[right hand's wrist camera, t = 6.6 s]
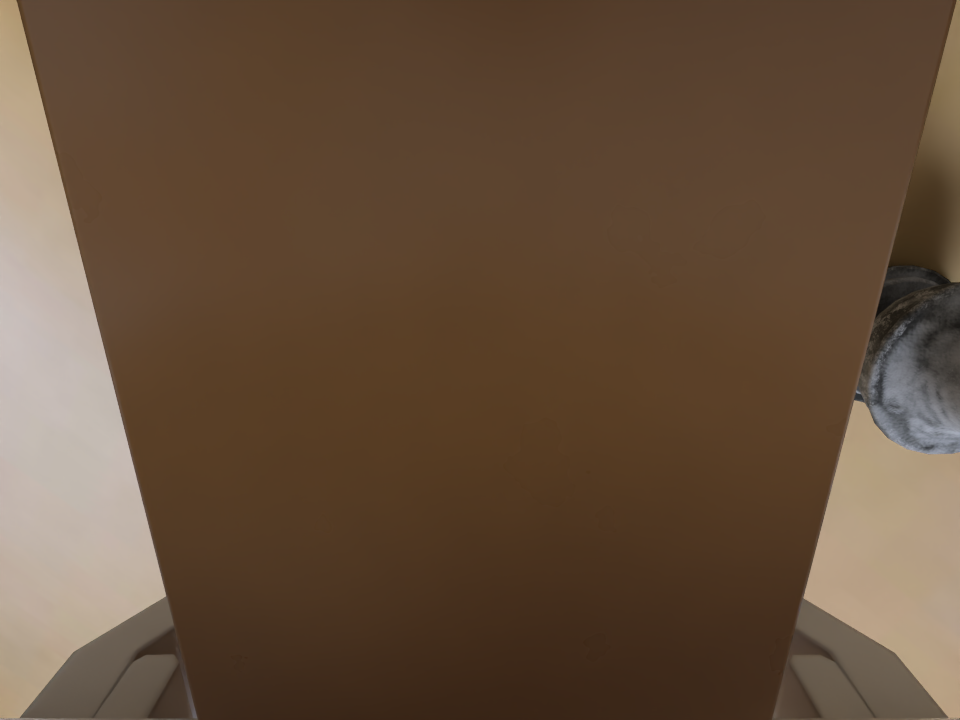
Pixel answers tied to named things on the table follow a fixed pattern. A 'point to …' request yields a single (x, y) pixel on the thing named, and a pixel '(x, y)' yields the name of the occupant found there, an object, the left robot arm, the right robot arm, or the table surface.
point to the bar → (485, 331)
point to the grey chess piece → (915, 361)
